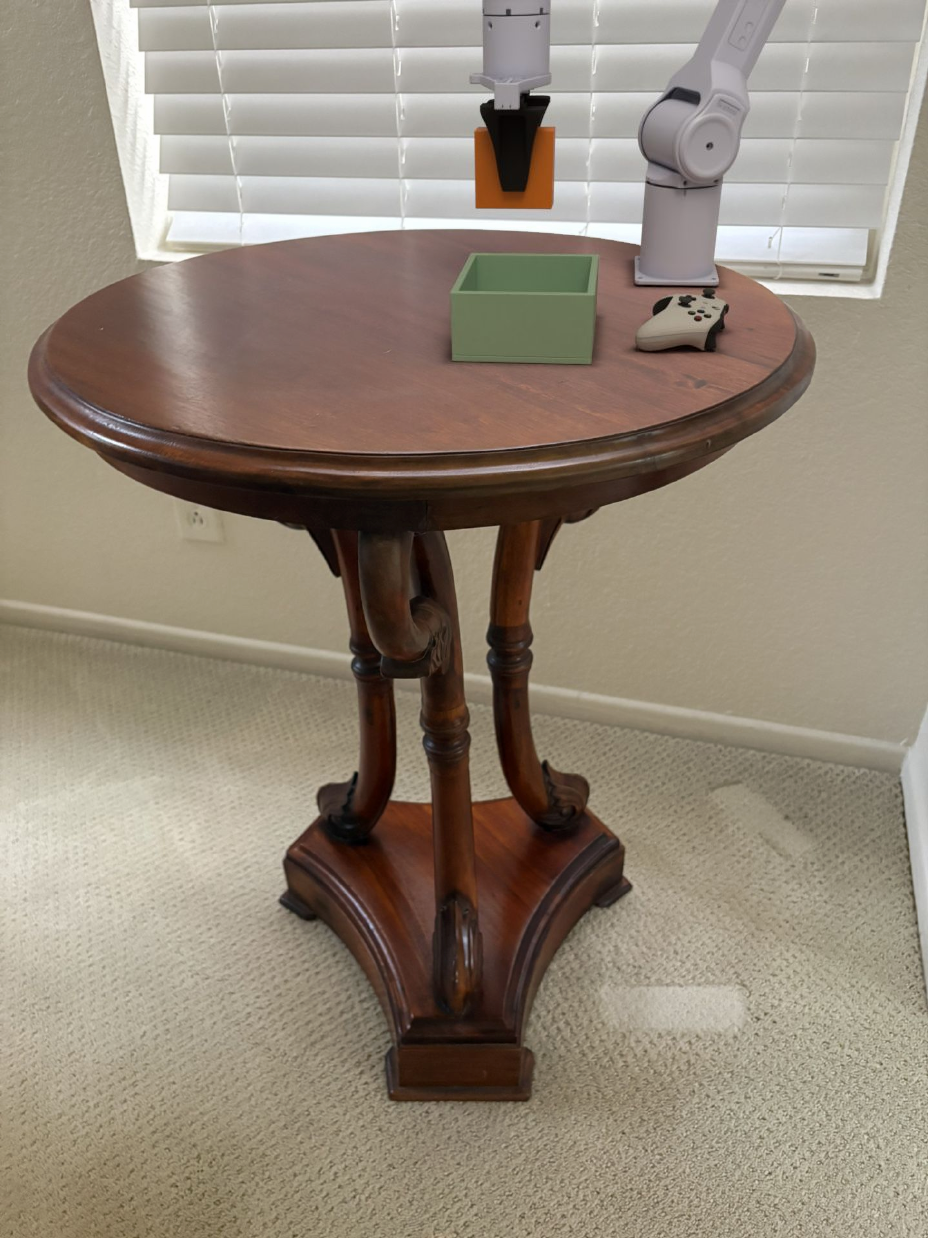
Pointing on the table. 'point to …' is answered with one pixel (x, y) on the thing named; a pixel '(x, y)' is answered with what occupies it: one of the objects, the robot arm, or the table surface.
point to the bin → (525, 308)
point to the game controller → (683, 322)
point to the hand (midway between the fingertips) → (515, 187)
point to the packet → (539, 179)
